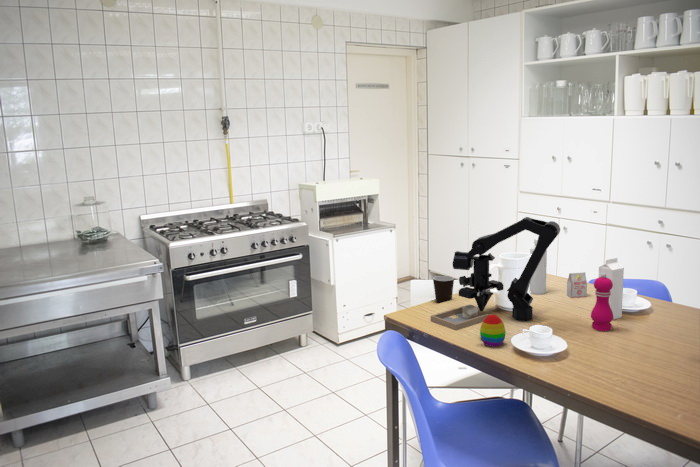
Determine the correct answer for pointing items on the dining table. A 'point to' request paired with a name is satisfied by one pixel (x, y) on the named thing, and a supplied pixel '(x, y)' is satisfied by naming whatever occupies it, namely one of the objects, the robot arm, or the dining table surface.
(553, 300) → the dining table surface
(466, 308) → the block
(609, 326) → the pepper mill
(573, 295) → the printed paper bag
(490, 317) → the decorative egg
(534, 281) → the grey bottle
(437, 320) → the brown rectangular tray
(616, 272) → the milk
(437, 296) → the coffee mug
